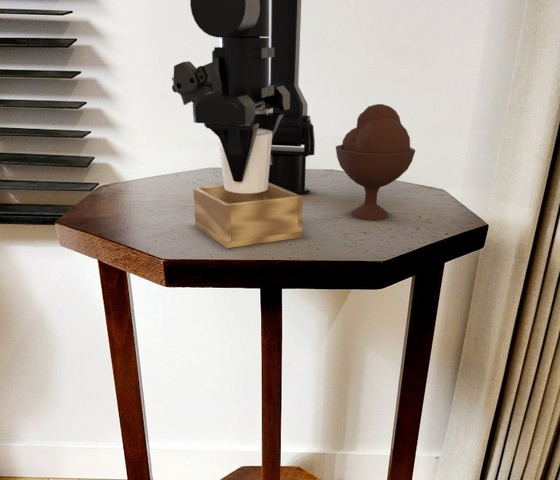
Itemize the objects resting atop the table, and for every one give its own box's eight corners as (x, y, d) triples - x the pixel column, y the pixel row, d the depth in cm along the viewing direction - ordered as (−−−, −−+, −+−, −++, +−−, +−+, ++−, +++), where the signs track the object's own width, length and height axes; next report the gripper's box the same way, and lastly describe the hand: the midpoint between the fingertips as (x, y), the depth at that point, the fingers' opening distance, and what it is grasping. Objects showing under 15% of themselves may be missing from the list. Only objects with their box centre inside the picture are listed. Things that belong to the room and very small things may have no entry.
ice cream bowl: (319, 210, 91) (324, 102, 84) (382, 204, 95) (392, 100, 88) (354, 228, 83) (362, 110, 75) (421, 220, 87) (436, 107, 79)
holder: (264, 218, 87) (264, 180, 84) (301, 237, 79) (303, 196, 76) (195, 226, 83) (193, 187, 80) (226, 248, 74) (225, 205, 72)
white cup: (266, 195, 74) (266, 135, 71) (212, 192, 76) (210, 133, 72) (277, 184, 80) (278, 128, 77) (227, 181, 81) (226, 126, 78)
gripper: (210, 36, 79) (215, 159, 87) (143, 36, 64) (156, 187, 71) (292, 37, 77) (289, 165, 84) (242, 38, 61) (244, 194, 69)
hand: (246, 176), depth 77 cm, fingers closed on white cup, 6 cm apart
